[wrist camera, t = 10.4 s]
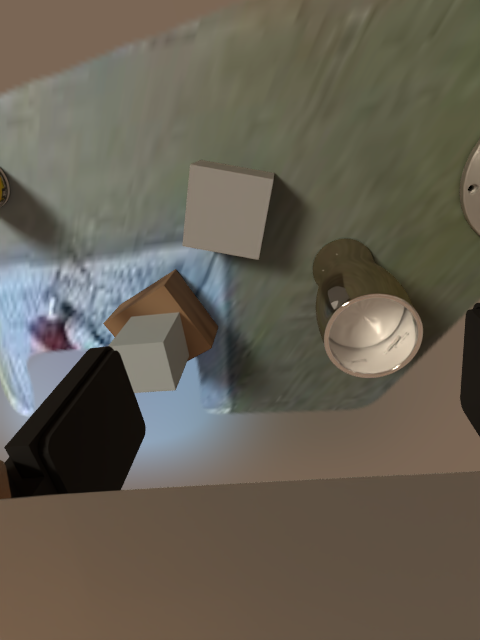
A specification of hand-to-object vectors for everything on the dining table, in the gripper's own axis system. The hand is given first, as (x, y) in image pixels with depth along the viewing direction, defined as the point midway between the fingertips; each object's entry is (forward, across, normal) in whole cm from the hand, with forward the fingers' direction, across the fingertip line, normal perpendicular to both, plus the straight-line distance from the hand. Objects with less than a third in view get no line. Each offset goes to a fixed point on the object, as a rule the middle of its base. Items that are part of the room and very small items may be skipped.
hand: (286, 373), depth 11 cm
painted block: (+26, +14, +11) cm, 31 cm away
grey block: (+31, +5, 0) cm, 31 cm away
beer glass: (+31, -5, +8) cm, 32 cm away
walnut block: (+31, +14, +11) cm, 35 cm away
